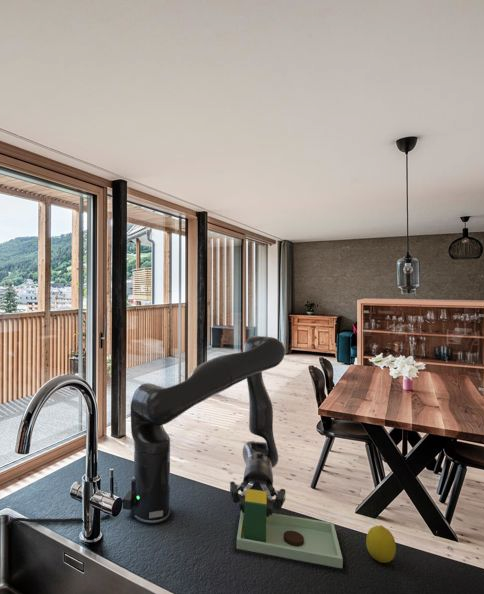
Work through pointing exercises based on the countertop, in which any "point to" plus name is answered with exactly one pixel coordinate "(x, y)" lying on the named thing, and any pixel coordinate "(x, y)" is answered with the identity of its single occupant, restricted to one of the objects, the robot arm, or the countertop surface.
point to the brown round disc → (293, 538)
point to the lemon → (381, 544)
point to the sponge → (255, 515)
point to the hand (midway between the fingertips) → (255, 510)
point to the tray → (315, 549)
